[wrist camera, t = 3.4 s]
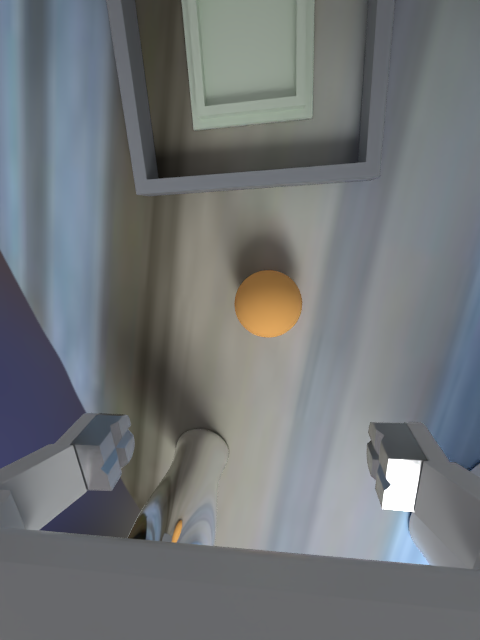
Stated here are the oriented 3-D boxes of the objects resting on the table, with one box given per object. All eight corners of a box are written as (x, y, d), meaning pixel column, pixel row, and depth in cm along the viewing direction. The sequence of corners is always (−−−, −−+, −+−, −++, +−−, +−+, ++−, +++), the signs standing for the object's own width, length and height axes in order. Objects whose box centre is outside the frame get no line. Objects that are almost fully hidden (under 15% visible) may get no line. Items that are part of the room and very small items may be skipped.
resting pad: (314, -43, 20) (316, -58, 19) (312, 118, 23) (313, 114, 22) (181, -19, 21) (175, -32, 20) (194, 130, 24) (190, 126, 23)
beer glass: (190, 413, 33) (124, 561, 19) (244, 445, 34) (217, 612, 20) (163, 453, 36) (86, 610, 22) (213, 482, 36) (170, 654, 22)
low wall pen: (396, -160, 18) (413, -217, 15) (370, 180, 24) (379, 177, 21) (107, -97, 20) (84, -137, 18) (149, 196, 26) (136, 194, 24)
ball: (300, 263, 26) (304, 276, 21) (300, 323, 28) (303, 348, 23) (237, 266, 27) (227, 278, 22) (241, 323, 29) (232, 348, 24)
